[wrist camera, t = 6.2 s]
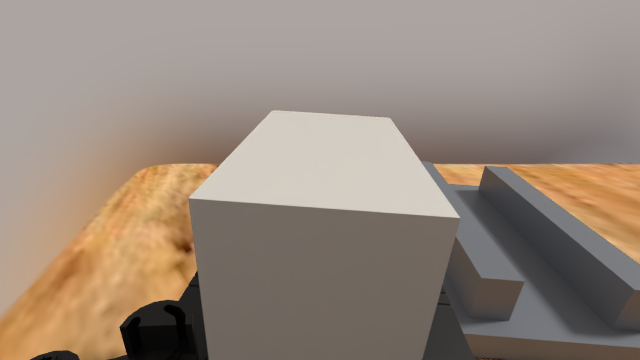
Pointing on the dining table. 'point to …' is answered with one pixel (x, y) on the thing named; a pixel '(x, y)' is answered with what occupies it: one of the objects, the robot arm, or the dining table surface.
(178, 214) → the dining table surface
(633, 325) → the rack
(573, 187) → the dining table surface
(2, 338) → the dining table surface
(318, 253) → the white rectangular block
